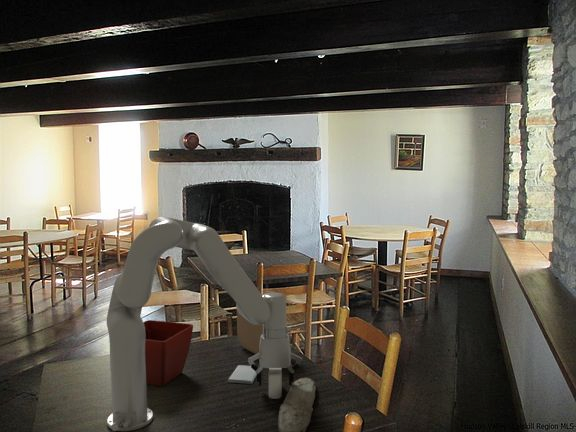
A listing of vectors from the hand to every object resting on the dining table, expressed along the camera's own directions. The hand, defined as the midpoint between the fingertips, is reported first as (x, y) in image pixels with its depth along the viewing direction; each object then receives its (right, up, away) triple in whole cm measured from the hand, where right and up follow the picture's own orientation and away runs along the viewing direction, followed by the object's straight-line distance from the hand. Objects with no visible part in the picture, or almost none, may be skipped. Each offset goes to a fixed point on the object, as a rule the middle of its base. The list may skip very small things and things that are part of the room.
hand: (275, 383), depth 164 cm
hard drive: (-11, -2, +13) cm, 17 cm away
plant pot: (-41, -2, +12) cm, 43 cm away
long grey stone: (+7, -4, -11) cm, 14 cm away
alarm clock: (-6, +1, +36) cm, 37 cm away
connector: (0, -3, 0) cm, 3 cm away
